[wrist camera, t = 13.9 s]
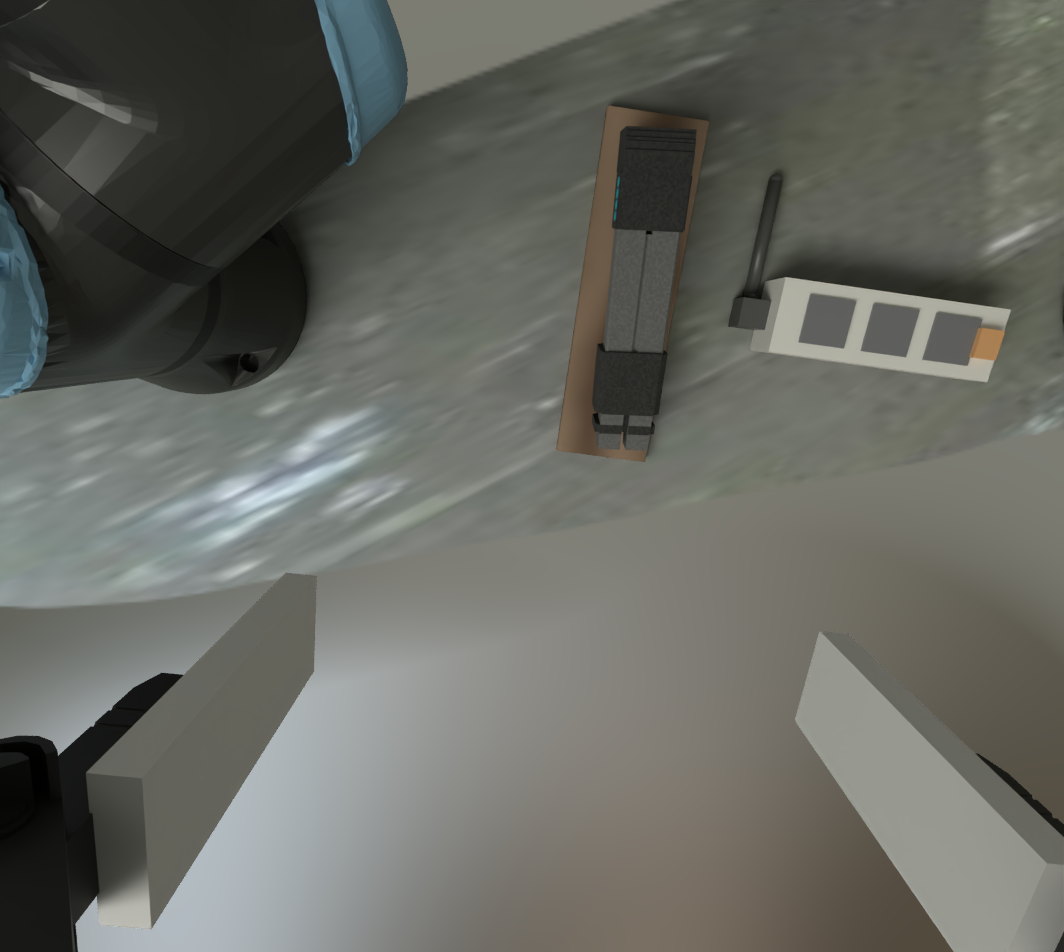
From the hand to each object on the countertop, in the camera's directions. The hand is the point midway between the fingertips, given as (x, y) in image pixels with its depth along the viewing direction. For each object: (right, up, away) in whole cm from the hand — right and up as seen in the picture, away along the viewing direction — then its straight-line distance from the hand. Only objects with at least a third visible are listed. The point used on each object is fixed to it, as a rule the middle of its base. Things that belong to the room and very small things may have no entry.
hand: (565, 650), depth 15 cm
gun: (+6, +18, +27) cm, 32 cm away
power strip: (+24, +19, +27) cm, 40 cm away
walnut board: (+6, +18, +27) cm, 33 cm away
